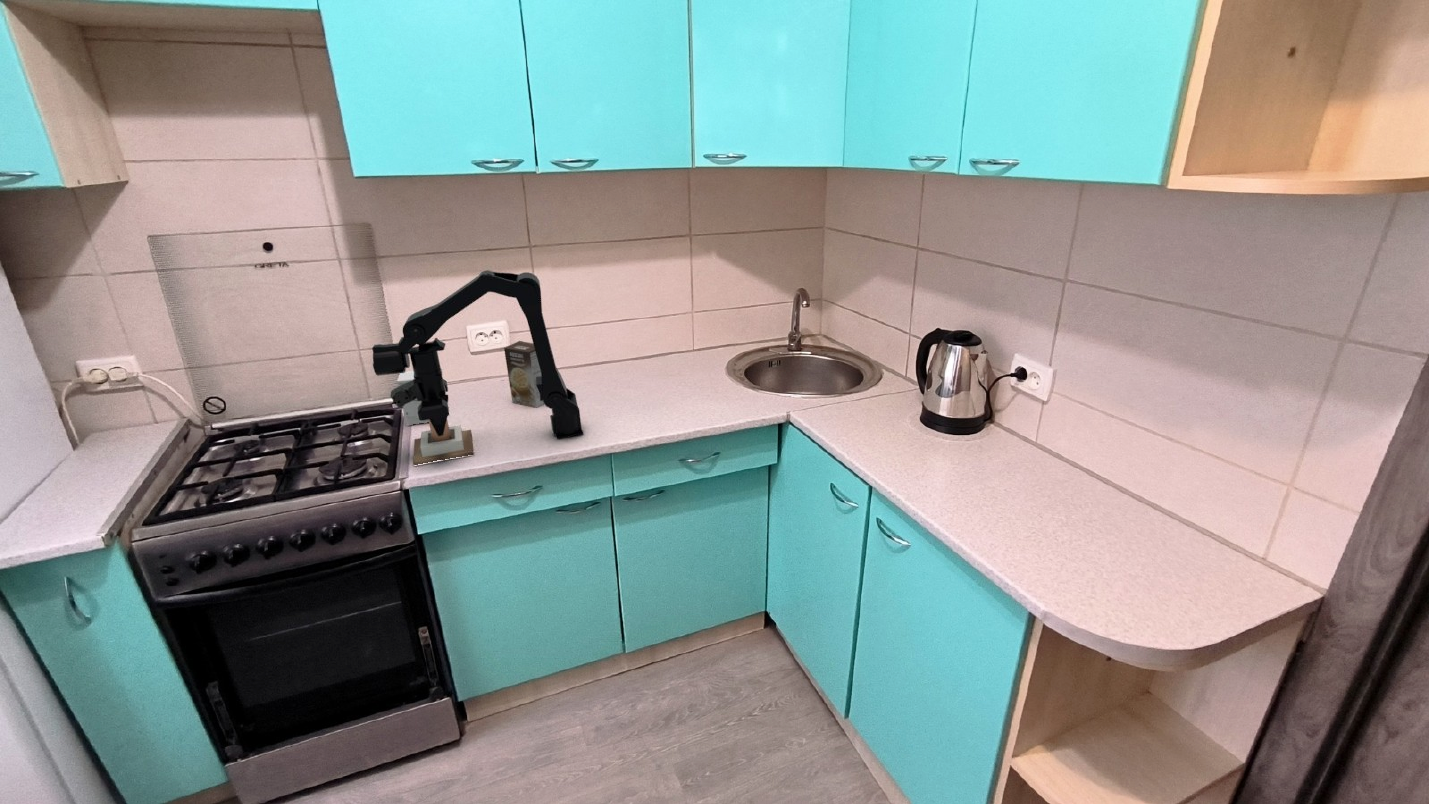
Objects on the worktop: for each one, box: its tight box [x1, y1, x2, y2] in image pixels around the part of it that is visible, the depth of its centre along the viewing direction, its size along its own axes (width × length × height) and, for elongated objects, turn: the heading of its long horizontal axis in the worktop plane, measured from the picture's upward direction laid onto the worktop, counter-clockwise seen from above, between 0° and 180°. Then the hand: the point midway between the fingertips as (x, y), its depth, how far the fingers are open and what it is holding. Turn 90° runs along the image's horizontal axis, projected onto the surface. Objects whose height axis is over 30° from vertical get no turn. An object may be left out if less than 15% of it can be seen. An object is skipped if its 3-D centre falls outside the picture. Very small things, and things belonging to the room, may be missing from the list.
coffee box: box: [503, 340, 545, 408], centre depth 182 cm, size 9×6×16 cm
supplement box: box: [396, 370, 429, 427], centre depth 174 cm, size 7×7×13 cm
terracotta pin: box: [428, 420, 451, 443], centre depth 157 cm, size 4×4×8 cm
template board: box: [412, 424, 475, 466], centre depth 159 cm, size 13×13×4 cm
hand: (440, 431), depth 158 cm, fingers closed on terracotta pin, 4 cm apart
